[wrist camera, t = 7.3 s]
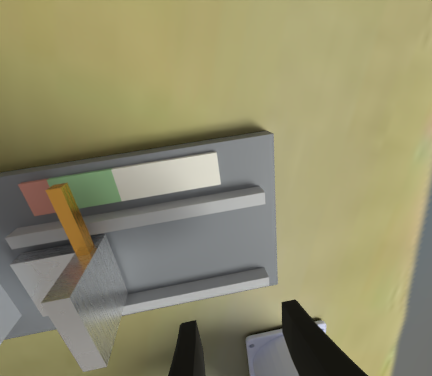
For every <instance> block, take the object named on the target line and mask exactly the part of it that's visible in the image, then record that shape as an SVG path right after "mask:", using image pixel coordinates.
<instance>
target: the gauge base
mask: <svg viewBox="0 0 432 376" xmlns="http://www.w3.org/2000/svg"><path fill="white" fill-rule="evenodd" d="M62 183H68V185H69V187H70V190H71V192H72V194H73V197H74V199H75V201H76V204H77V206H78V208H79V211H80V213H81V215H82V218H83V220H84V222H85V225H86V227H87V229H88V232H89V234H90V236H91V237H92V236H98V235H103V234H106V237H107V239H108V242H109V244H110V247H111V249H112V252H113V254H114V257H115V259H116V262H117V265H118V267H119V270H120V272H121V275H122V277H123V280H124V282H125V285H126V287H127V290H128V295H127V298H126V302H125V305H124V309H123V312H122V316H124V315H129V314H133V313H138V312H143V311H148V310H153V309H158V308H163V307H168V306H173V305H178V304H183V303H188V302H192V301H197V300H202V299H207V298H212V297H217V296H222V295H227V294H232V293H237V292H242V291H247V290H252V289H256V288H261V287H266V286H271V285H276V284H278V278H277V242H276V207H275V171H274V136H273V133H271V132H268V131H261V132H255V133H249V134H242V135H236V136H230V137H223V138H217V139H211V140H204V141H198V142H192V143H185V144H179V145H172V146H166V147H160V148H153V149H147V150H141V151H134V152H128V153H122V154H115V155H109V156H102V157H96V158H90V159H83V160H77V161H71V162H64V163H58V164H52V165H45V166H39V167H33V168H26V169H20V170H13V171H7V172H1V173H0V344H1V343H2V342H3V340H5V339H10V338H15V337H20V336H25V335H30V334H35V333H40V332H45V331H50V330H55V329H56V327H55V326H54V324H53V323H52V321H51V319H50V318H49V316H45V317H43V316H42V315H41V313H40V311H39V310H38V308H37V307H36V305H35V304H34V302H33V300H32V299H31V297H30V296H29V294H28V293H27V291H26V290H25V288H24V286H23V285H22V283H21V282H20V280H19V279H18V277H17V275H16V274H15V272H14V271H13V269H12V268H11V266H10V264H11V263H12V262H13V261H14V260H15V259H16V258H17V257H18V256H19V255H20V254H21V253H27V252H32V251H38V250H43V249H49V248H54V247H60V246H66V245H71V243H70V241H69V239H68V237H67V235H66V232H65V230H64V228H63V226H62V224H61V222H60V220H59V218H58V216H57V214H56V212H55V209H54V207H53V205H52V203H51V201H50V199H49V197H48V195H47V193H46V191H45V190H47V189H48V188H50V187H51V186H52V185H56V184H62Z"/></svg>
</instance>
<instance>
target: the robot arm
mask: <svg viewBox="0 0 432 376" xmlns="http://www.w3.org/2000/svg"><path fill="white" fill-rule="evenodd" d="M246 348H247V357H248V365H249V373H250V376H368V375H367V374H366V373H365V372H363V371H362V370H361V369H360V368H359V367H358V366H357V365H356V364H355V363H354V362H353V361H352V360H351V359H350V358H349V357H348V356H347V355H346V354H345V353H344V352H343V351H342V350H341V349H340V348H339V347H338V346H337V345H336V344H335V343H334V342H333V341H332V340H331V339H330V338H329V337H328V336H327V335H326V324H325V322H324V321H322V320H320V321H314V320H313V319H312V318H311V317H310V316H309V315H308V313H307V312H306V311H305V310H304V309H303V308H302V306H301V305H300V304H299V303H298V302H297V301H296V300H291V301H286V302H282V329H278V330H273V331H269V332H264V333H259V334H255V335H250V336H248V337H247V338H246ZM168 376H205V365H204V355H203V347H202V343H201V339H200V335H199V331H198V327H197V323H196V320H195V321H190V322H185V323H182V324H181V325H180V329H179V334H178V339H177V344H176V348H175V352H174V356H173V360H172V364H171V368H170V371H169V374H168Z"/></svg>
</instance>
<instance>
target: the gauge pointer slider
mask: <svg viewBox="0 0 432 376" xmlns="http://www.w3.org/2000/svg"><path fill="white" fill-rule="evenodd" d="M45 191H46V193H47V195H48V197H49V199H50V201H51V203H52V205H53V207H54V209H55V212H56V214H57V216H58V218H59V220H60V222H61V224H62V226H63V228H64V230H65V232H66V235H67V237H68V239H69V241H70V243H71V245H66V246H60V247H54V248H49V249H43V250H38V251H32V252H27V253H21V254H20V255H19V256H18V257H17V258H16V259H15V260H14V261H13V262H12V263H11V264H10V266H11V268H12V269H13V271H14V272H15V274H16V275H17V277H18V279H19V280H20V282H21V283H22V285H23V286H24V288H25V290H26V291H27V293H28V294H29V296H30V297H31V299H32V300H33V302H34V304H35V305H36V307H37V308H38V310H39V311H40V313H41V315H42V316H43V317H45V316H49V318H50V319H51V321H52V323H53V324H54V326H55V327H56V329H57V331H58V332H59V334H60V335H61V337H62V339H63V340H64V342H65V343H66V345H67V347H68V348H69V350H70V351H71V353H72V355H73V356H74V358H75V359H76V361H77V363H78V364H79V366H80V367H81V369H82V371H83V372H85V371H90V370H94V369H99V368H103V367H107V365H108V361H109V358H110V354H111V351H112V347H113V344H114V340H115V337H116V333H117V330H118V326H119V323H120V319H121V316H122V312H123V309H124V305H125V302H126V298H127V295H128V290H127V287H126V285H125V282H124V280H123V277H122V275H121V272H120V270H119V267H118V265H117V262H116V259H115V257H114V254H113V252H112V249H111V247H110V244H109V242H108V239H107V237H106V234H103V235H98V236H92V237H91V236H90V234H89V232H88V229H87V227H86V225H85V222H84V220H83V218H82V215H81V213H80V211H79V208H78V206H77V204H76V201H75V199H74V197H73V194H72V192H71V190H70V187H69V185H68V183H62V184H56V185H52V186H51V187H50V188H48V189H47V190H45Z"/></svg>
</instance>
